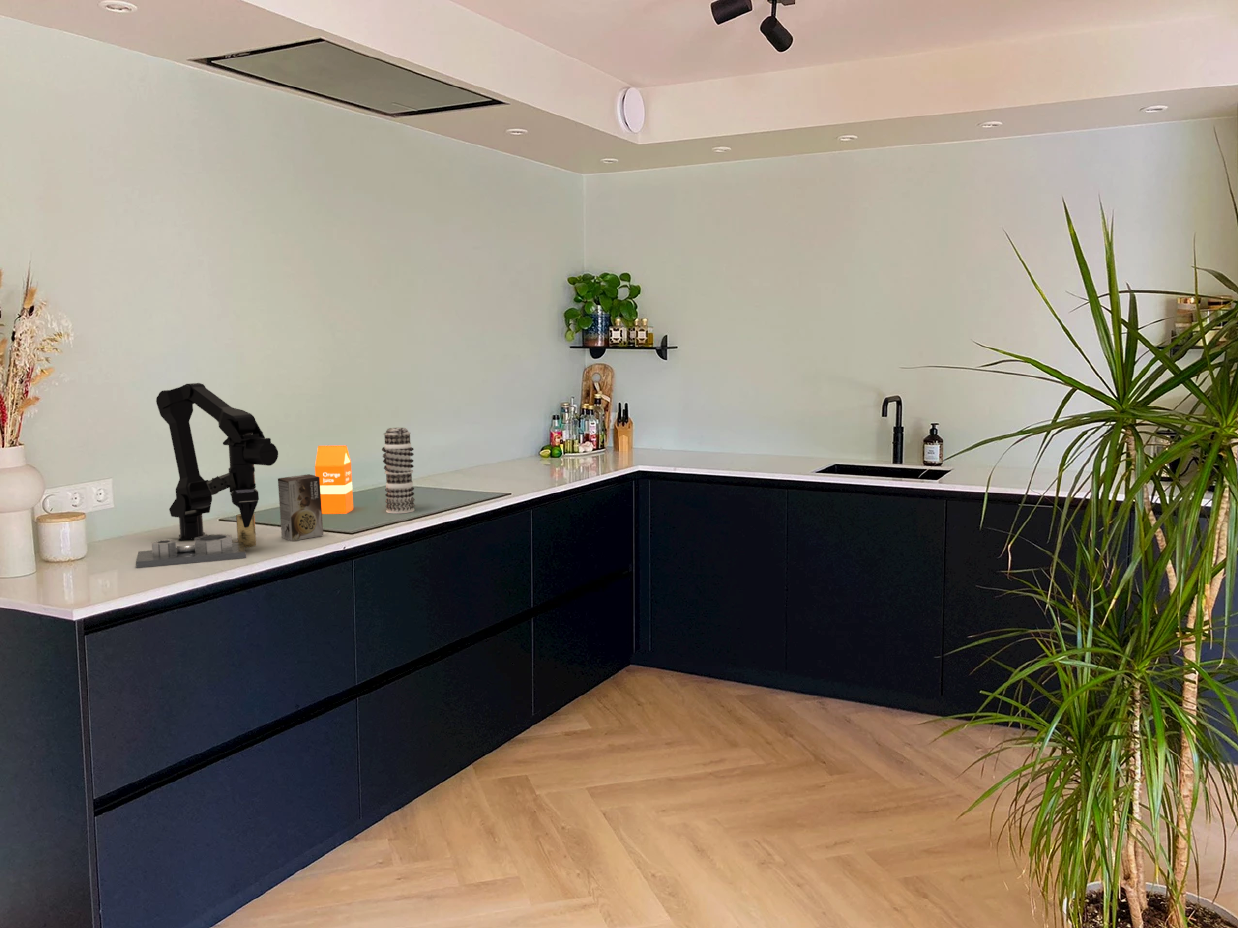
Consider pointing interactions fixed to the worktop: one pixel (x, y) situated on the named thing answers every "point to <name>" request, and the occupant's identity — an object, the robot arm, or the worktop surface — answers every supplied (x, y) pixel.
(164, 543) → the manifold
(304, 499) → the coffee box
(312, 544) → the worktop surface
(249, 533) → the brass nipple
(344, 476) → the orange juice
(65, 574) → the worktop surface
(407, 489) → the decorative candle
